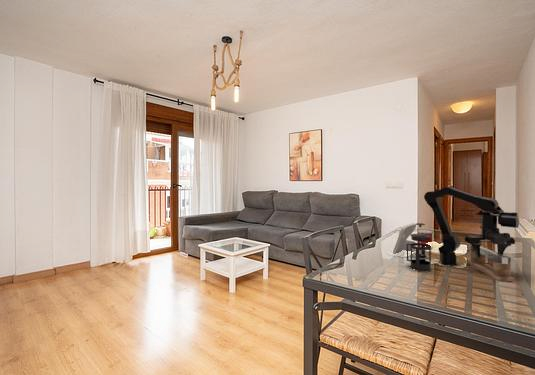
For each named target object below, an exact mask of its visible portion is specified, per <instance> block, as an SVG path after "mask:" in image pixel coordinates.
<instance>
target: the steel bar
mask: <svg viewBox="0 0 535 375" xmlns="http://www.w3.org/2000/svg"><path fill="white" fill-rule="evenodd" d="M482 246H483V245H481V246H480V254H482V255H484V256H485V258H489V259H491V260H493V256H497V257H499V263H501V264H508V257H509V256H508V257H505V256H506V255H501V254H498V252H495V251H494V250H491V249H489V248H486V247H485V246H484V247H485V248H484V247H482Z"/></svg>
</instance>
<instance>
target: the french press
mask: <svg viewBox="0 0 535 375" xmlns="http://www.w3.org/2000/svg"><path fill="white" fill-rule="evenodd" d="M415 224H416V226H418V227H419V230H420V234H418V233H411V235H410V236H409V237H411V241H413V242H415V243H412V244H409V243H408V244H407V245H406V246H407V257H406V261H407V262H410V266H409V268H410V267H411V268H412V269H411V268H410V269H411V270H413V269H415V270H414V271H416V270H418V271H417V272H422V271H428V272H431V271H432V264H431V263H432V262H431V260H432V254H431V253H432V249H431V246H430V245H428V244H424V243H421V242H424V241H426V240H427V239H429V238H430V237H431V236H430V235H426V234H421V230H422V229H421V228H422V226H425V223H423V222H417V223H415ZM418 241H420V243H418ZM408 245H410V247H411V255H410V259H409V256H408ZM418 246H420V247H418ZM425 246H426V247H425ZM412 248H413V249H415V251H416V253H414V254H412ZM426 251H428V254H426ZM428 260H429V261H428ZM430 270H431V271H430Z"/></svg>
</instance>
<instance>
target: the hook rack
mask: <svg viewBox="0 0 535 375" xmlns="http://www.w3.org/2000/svg"><path fill="white" fill-rule="evenodd" d="M481 246H482V247H484V248H486V246H483V245H481ZM504 256H505V257H508V264H501V263H499V257H497V256H493V259H492V261H493V264H492V265H493V266H491V265H490V264H487V263H486V256H484V255H482V254H480V258H479V257H477V254H476V252H475V250H474V248H473V247H472V245H470V260H467V264H468V265H470V266H471V267H473V268H474V269H476V270H478V271H479V272H481V273H483V274H484V275H487V276H489V277H490V278H492V279H493V280H495V281H496V282H504V283H505V282H508V281H512V282H511V283H514V282H516V280H515V279H516V278H515V277H513V276H512V275H511V265H512V264H511V262H512V260H511V257H510V256H507V255H504Z"/></svg>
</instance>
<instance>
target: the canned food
mask: <svg viewBox="0 0 535 375" xmlns="http://www.w3.org/2000/svg"><path fill="white" fill-rule="evenodd" d="M417 234H420V229H419V230H417ZM421 234H426V235H430V236H431V237H430V238H429V239H427V240H426V241H424V242H421V243H424V244H426V243H428V242H432V243H433V231H431V230H428V229H427V230H425V229H423V230H422V229H421ZM417 243H420V241H417ZM417 247H420V246H417Z"/></svg>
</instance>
